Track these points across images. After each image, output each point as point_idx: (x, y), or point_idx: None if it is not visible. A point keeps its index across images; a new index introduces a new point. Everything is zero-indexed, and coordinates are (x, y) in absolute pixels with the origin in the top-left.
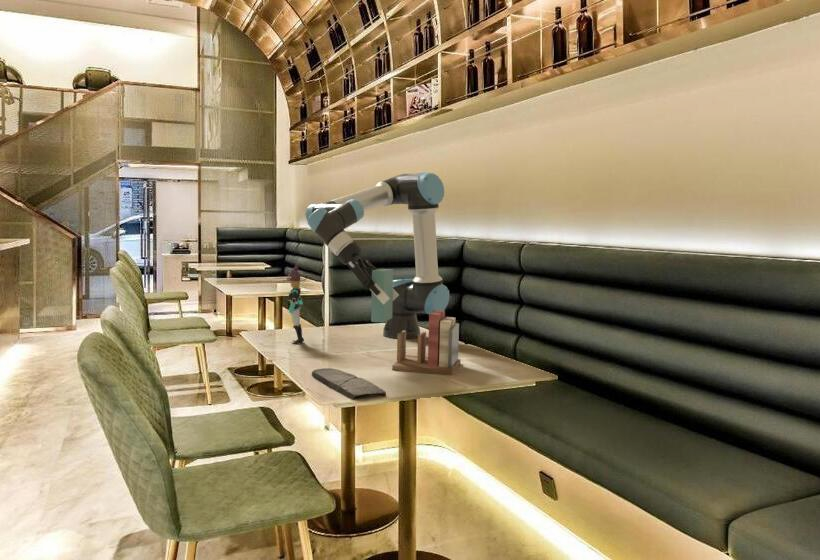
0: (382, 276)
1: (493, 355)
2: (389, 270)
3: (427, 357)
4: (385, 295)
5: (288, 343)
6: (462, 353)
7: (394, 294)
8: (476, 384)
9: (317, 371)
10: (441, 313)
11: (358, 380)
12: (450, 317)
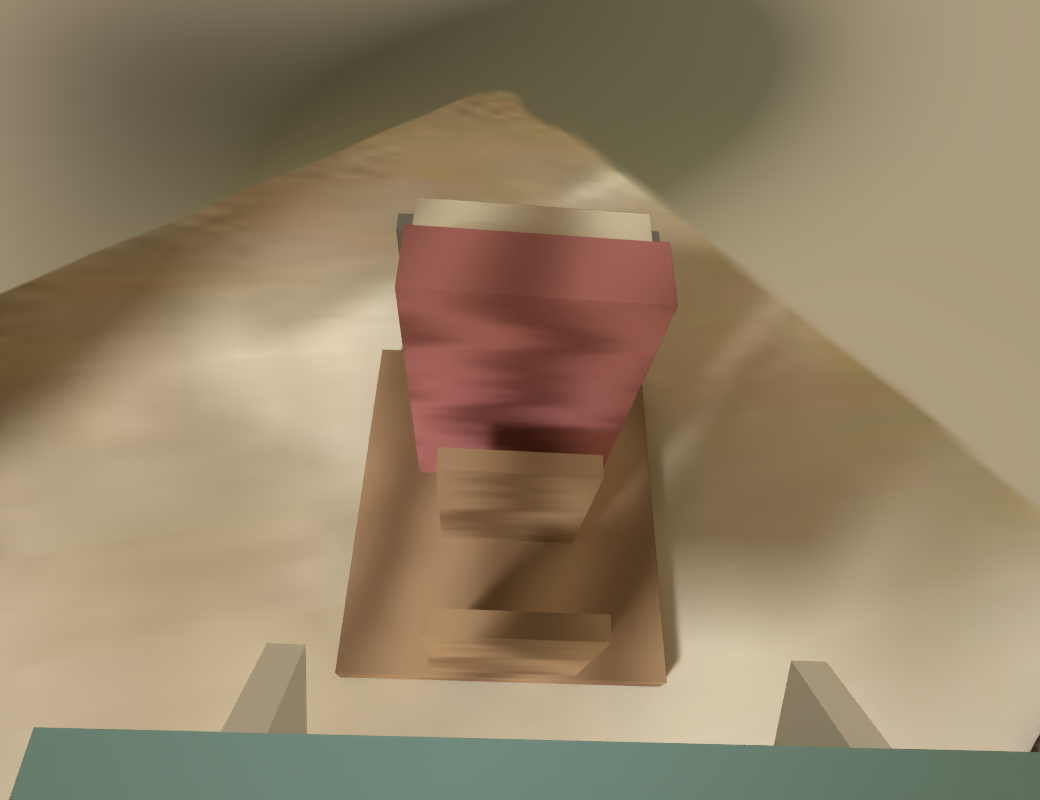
0: None
1: (144, 240)
2: (580, 743)
3: (378, 517)
4: (865, 725)
5: None
6: (97, 375)
7: (287, 719)
8: (746, 281)
9: None
10: (556, 238)
11: None
12: (427, 225)
